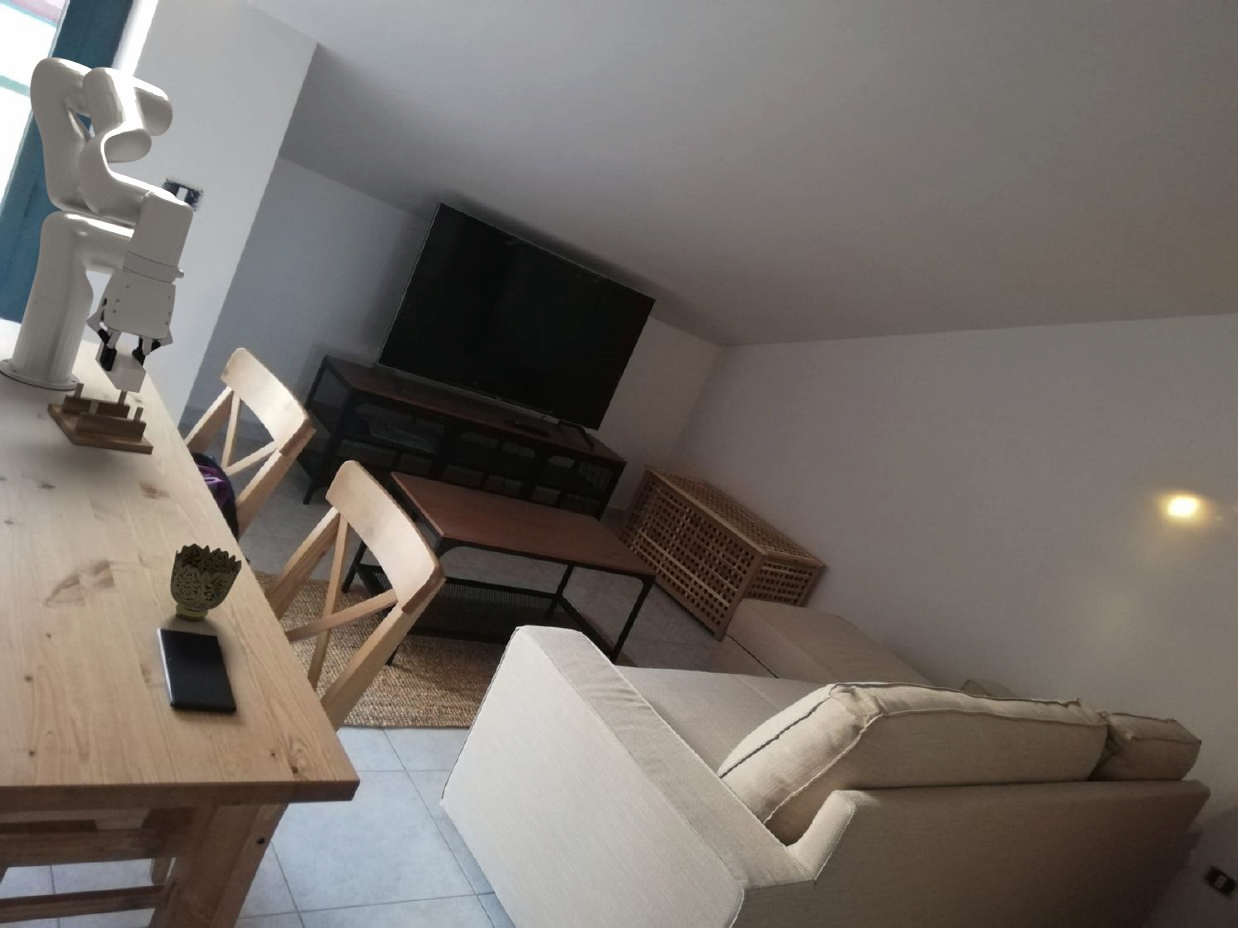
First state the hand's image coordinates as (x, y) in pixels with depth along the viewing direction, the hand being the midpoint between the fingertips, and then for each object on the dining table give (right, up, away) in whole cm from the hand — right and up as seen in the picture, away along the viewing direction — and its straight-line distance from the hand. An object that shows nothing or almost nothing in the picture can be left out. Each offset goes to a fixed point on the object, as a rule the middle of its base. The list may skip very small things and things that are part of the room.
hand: (119, 370), depth 145 cm
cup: (+32, -34, -41) cm, 62 cm away
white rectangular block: (-1, -1, 0) cm, 1 cm away
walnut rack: (-5, -10, +2) cm, 11 cm away
